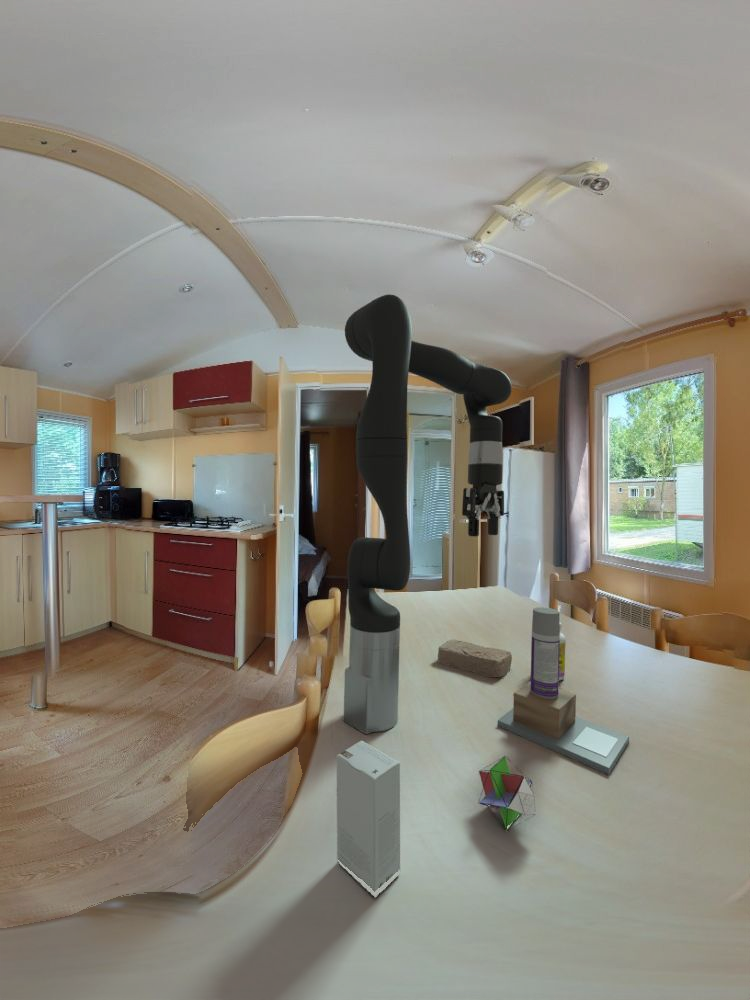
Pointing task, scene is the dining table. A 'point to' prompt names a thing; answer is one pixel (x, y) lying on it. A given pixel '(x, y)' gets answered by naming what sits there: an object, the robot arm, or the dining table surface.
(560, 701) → the walnut plinth
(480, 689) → the dining table surface
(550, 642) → the container
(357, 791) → the skincare box
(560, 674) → the supplement bottle
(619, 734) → the slate board
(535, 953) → the dining table surface
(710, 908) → the dining table surface
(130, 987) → the dining table surface
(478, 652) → the brick
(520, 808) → the geometric puzzle
